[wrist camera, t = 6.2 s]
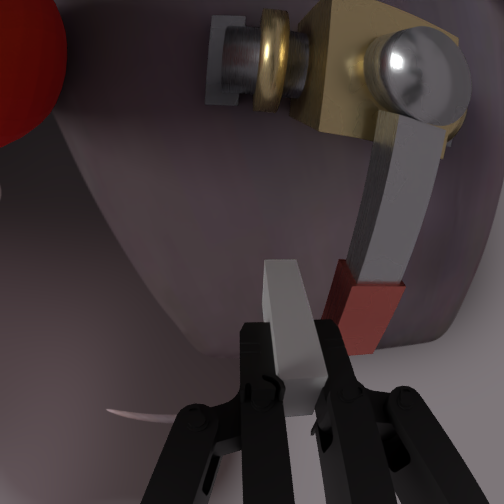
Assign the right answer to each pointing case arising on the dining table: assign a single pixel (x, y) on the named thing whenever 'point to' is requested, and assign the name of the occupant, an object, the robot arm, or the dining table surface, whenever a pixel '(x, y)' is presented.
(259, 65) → the valve
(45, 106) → the tomato
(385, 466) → the robot arm
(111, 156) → the dining table surface
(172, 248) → the dining table surface
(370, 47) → the lever
